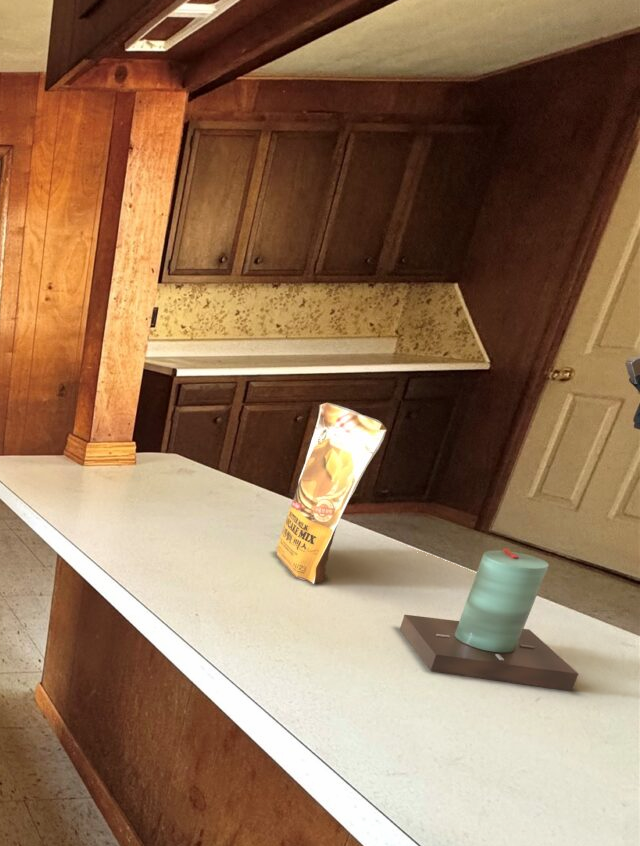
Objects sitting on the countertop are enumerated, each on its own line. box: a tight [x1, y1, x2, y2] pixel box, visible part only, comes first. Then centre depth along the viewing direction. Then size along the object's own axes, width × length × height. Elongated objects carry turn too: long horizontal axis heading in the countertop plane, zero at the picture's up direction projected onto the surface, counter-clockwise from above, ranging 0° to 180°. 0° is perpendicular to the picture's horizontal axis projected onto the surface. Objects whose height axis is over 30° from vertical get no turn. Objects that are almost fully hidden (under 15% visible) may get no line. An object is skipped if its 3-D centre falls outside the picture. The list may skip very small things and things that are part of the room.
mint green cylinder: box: [455, 548, 550, 653], centre depth 86 cm, size 6×6×12 cm
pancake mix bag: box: [276, 402, 388, 585], centre depth 113 cm, size 7×19×28 cm, turn 164°
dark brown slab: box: [399, 614, 579, 692], centre depth 89 cm, size 14×12×3 cm
